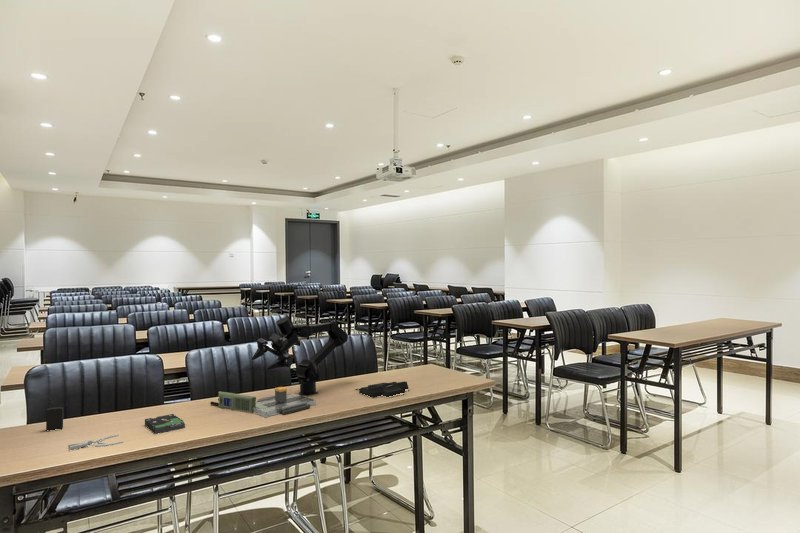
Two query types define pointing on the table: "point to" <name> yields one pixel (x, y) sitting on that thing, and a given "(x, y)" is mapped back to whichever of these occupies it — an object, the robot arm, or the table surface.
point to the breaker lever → (280, 394)
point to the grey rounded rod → (266, 398)
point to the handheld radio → (236, 402)
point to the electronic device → (384, 389)
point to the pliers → (85, 443)
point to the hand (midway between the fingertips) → (259, 364)
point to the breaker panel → (279, 405)
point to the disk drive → (164, 423)
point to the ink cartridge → (54, 418)
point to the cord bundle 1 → (294, 407)
